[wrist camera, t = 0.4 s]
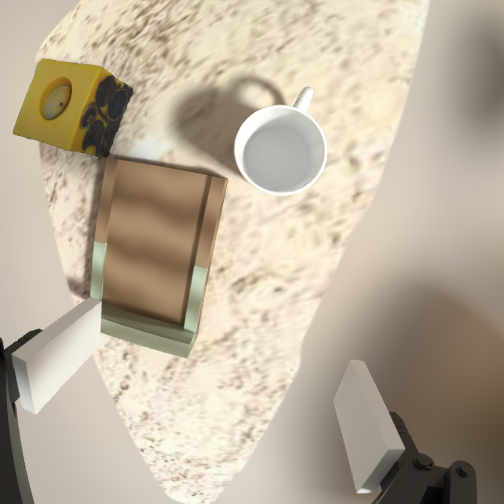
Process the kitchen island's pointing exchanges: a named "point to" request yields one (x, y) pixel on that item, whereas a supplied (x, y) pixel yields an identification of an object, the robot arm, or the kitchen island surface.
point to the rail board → (154, 252)
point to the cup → (281, 147)
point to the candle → (73, 107)
